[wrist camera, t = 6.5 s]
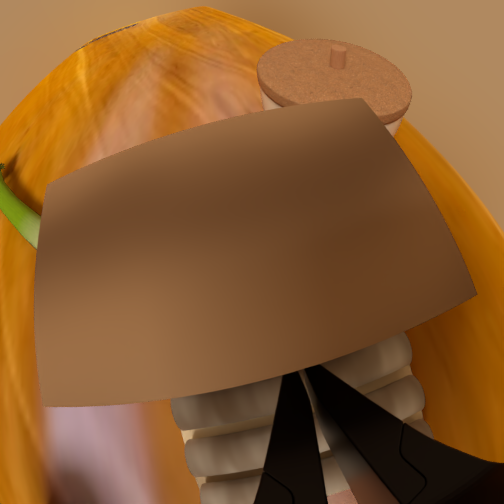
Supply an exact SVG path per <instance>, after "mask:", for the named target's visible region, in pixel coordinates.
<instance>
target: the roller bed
mask: <svg viewBox="0 0 504 504" xmlns="http://www.w3.org/2000/svg"><path fill="white" fill-rule="evenodd" d="M411 361H412V348H411V344H410V342H409V339H408V337H407V335H406V334H405V332H402V333H400V334H397V335H395V336H393V337H390V338H388V339H386V340H383V341H381V342H378V343H376V344H373V345H371V346H368V347H366V348H363V349H360V350H358V351H355V352H352V353H350V354H347V355H344V356H341V357H338V358H335V359H333V360H330V361H327V362H324V363H321V365H322V366H323V367H325V368H326V369H327V370H329V371H330V372H332V373H333V374H334V375H336V376H337V377H339V378H340V379H342V380H343V381H344V382H346V383H347V384H349V385H350V386H351V387H353V388H354V389H356V390H357V391H359V392H360V393H362V394H363V395H365V396H366V397H367V398H369V399H370V400H372V401H373V402H375V403H376V404H378V405H379V406H381V407H382V408H384V409H385V410H387V411H388V412H390V413H391V414H393V415H394V416H396V417H397V418H399V419H400V420H402V421H403V423H407V424H408V425H410V426H412V427H413V428H415V429H416V430H418V431H420V432H421V433H423V434H425V435H427V436H428V437H430V438H432V439H434V437H433V433H432V431H431V429H430V427H429V425H428V424H427V423H426V422H425V421H424V419H423V414H422V409H423V408H424V406H425V395H424V391H423V388H422V386H421V384H420V382H419V381H418V379H417V378H416V377H415V376H413V374H412V371H411V367H410V363H411ZM298 372H299V374H300V376H301V379H302V381H303V383H304V386H305V388H306V391H307V393H308V390H307V387H306V382H305V377H304V371H303V369H301V370H298ZM281 379H282V375H281V376H277V377H273V378H270V379H266V380H262V381H258V382H254V383H250V384H246V385H241V386H237V387H232V388H228V389H223V390H218V391H213V392H208V393H203V394H197V395H191V396H185V397H179V398H172V399H171V409H172V414H173V417H174V420H175V422H176V424H177V426H178V427H179V428H180V429H181V433H182V436H183V440H184V443H185V458H186V462H187V465H188V468H189V470H190V472H191V473H192V475H193V476H195V478H196V481H197V484H198V486H199V489H200V499H201V504H253V503H254V500H255V496H256V493H257V489H258V486H259V482H260V478H261V474H262V472H263V466H264V462H265V457H266V453H267V449H268V444H269V439H270V435H271V430H272V425H273V420H274V415H275V410H276V405H277V400H278V395H279V390H280V384H281ZM308 395H309V393H308ZM309 398H310V396H309ZM310 402H311V399H310ZM311 406H312V412H313V417H314V423H315V428H316V434H317V439H318V445H319V451H320V457H321V463H322V469H323V475H324V481H325V488H326V494H327V496H330V495H333V494H336V493H339V492H342V491H345V490H347V489H350V487H349V485H348V483H347V481H346V479H345V477H344V475H343V473H342V471H341V469H340V467H339V465H338V464H337V462H336V460H335V458H334V456H333V454H332V452H331V450H330V448H329V446H328V444H327V442H326V440H325V438H324V436H323V434H322V431H321V429H320V426H319V423H318V420H317V417H316V414H315V411H314V408H313V405H312V402H311Z"/></svg>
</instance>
